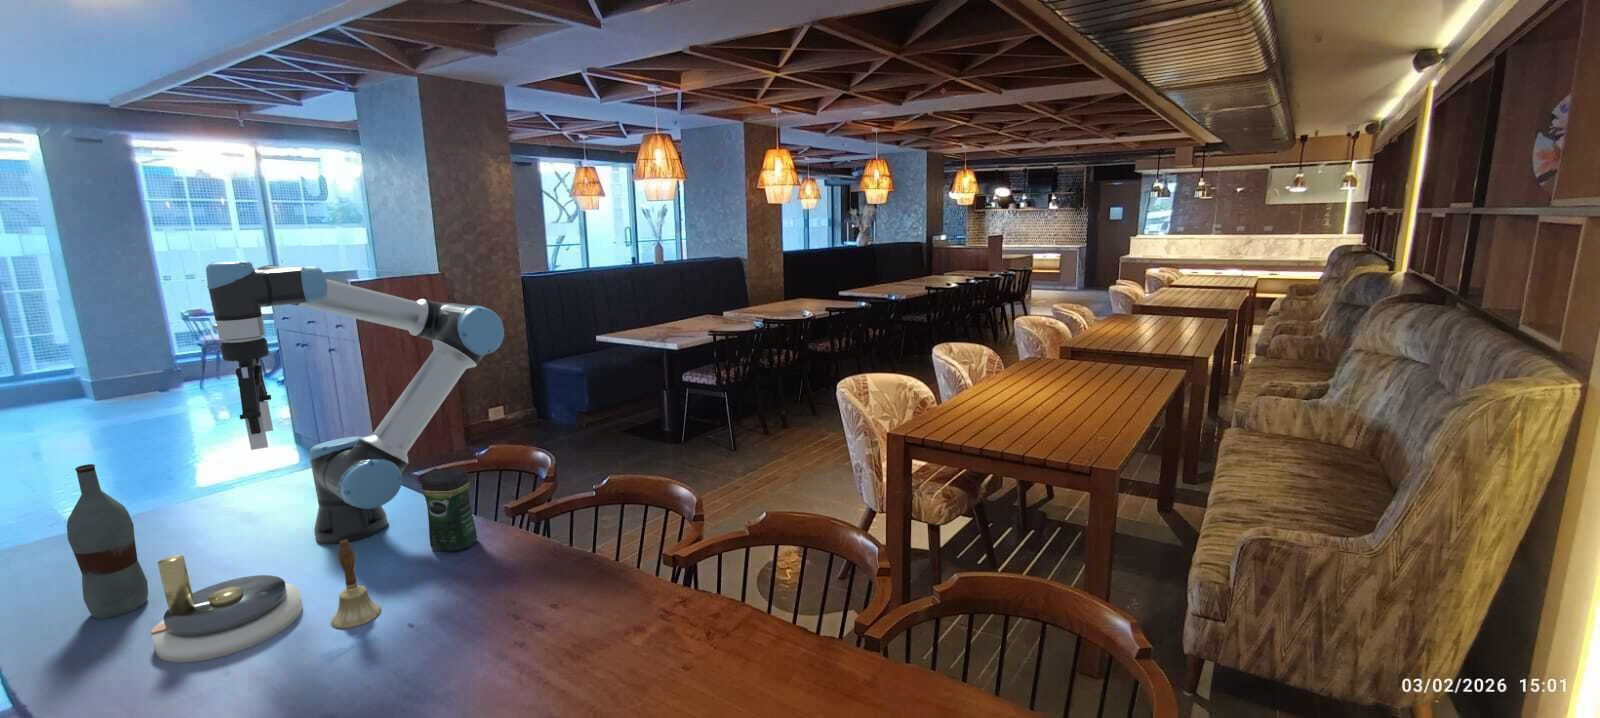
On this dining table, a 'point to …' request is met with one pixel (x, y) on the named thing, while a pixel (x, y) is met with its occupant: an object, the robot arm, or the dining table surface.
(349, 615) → the hand bell
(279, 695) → the dining table surface
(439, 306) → the robot arm
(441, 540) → the coffee jar
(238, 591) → the handwheel
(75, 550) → the bottle
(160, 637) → the wheel base
